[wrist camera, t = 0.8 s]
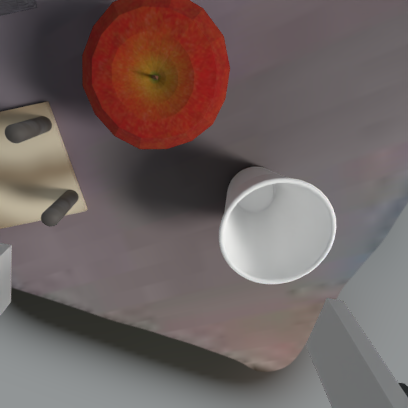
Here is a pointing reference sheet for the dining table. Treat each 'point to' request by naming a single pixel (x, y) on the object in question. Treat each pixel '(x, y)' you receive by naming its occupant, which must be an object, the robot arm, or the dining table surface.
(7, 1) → the grey stepped post
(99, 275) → the dining table surface
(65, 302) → the dining table surface
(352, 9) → the dining table surface
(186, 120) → the apple
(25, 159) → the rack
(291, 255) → the cup
